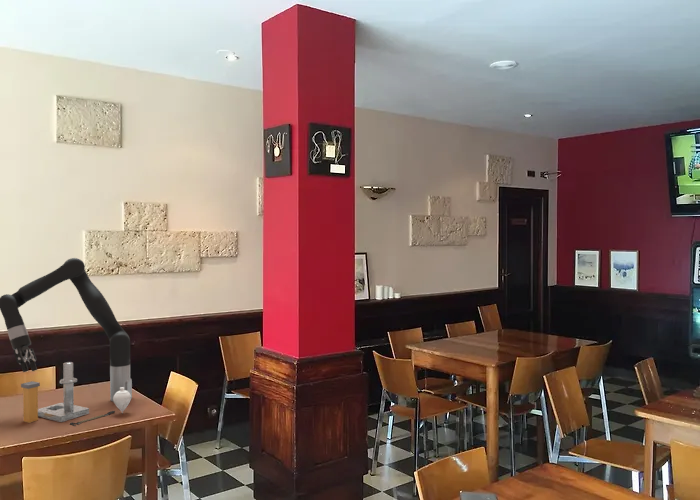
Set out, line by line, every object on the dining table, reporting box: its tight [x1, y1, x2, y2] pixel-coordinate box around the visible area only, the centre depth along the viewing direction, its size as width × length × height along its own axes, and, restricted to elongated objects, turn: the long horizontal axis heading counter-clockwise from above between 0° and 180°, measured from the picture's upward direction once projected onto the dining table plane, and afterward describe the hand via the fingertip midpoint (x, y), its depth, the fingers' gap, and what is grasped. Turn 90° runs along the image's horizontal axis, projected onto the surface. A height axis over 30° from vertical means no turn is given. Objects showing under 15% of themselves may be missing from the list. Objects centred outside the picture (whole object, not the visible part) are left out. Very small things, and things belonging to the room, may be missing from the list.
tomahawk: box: [69, 410, 116, 427], centre depth 260 cm, size 21×7×1 cm, turn 145°
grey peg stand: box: [38, 361, 90, 423], centre depth 266 cm, size 19×14×24 cm
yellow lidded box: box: [20, 380, 41, 423], centre depth 257 cm, size 5×5×16 cm
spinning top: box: [112, 387, 132, 415], centre depth 268 cm, size 8×8×12 cm
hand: (30, 371), depth 264 cm, fingers open, 8 cm apart
